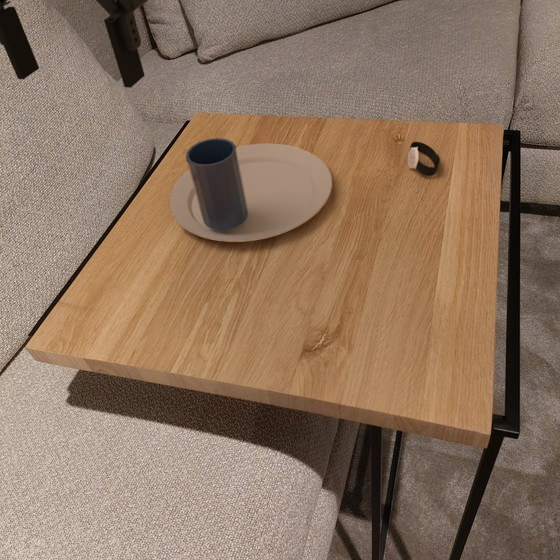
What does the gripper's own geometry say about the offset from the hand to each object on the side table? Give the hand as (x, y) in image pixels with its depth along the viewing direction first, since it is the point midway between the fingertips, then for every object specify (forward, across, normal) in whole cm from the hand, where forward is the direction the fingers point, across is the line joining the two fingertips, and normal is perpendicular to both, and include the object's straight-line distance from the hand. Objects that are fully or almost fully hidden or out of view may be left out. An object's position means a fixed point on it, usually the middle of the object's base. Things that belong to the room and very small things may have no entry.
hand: (80, 77), depth 61 cm
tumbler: (+27, +5, +14) cm, 31 cm away
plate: (+29, +6, +21) cm, 37 cm away
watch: (+29, +30, +35) cm, 55 cm away
